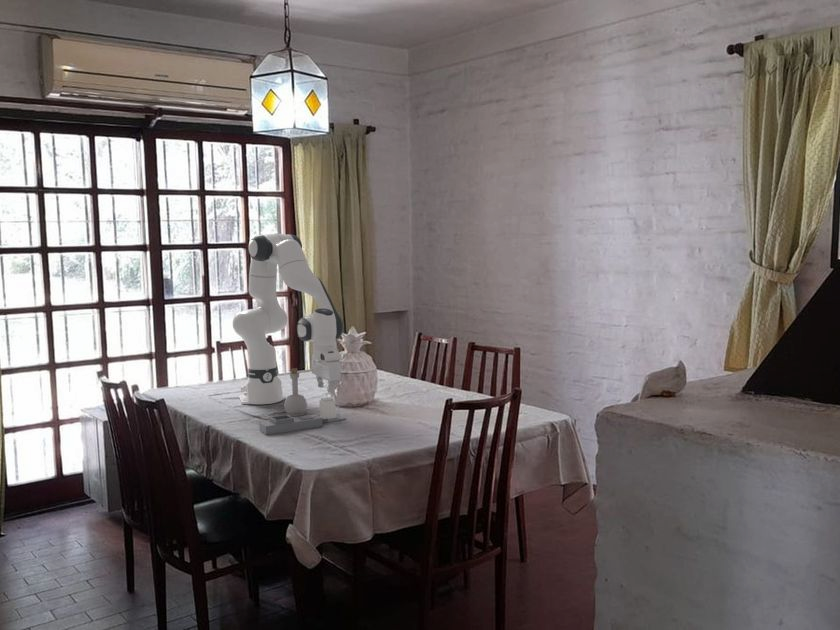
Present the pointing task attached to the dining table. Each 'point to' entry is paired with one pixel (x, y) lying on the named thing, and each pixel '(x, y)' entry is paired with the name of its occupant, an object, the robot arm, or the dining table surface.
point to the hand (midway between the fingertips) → (325, 389)
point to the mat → (335, 418)
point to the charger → (327, 408)
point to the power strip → (290, 423)
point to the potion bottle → (295, 398)
